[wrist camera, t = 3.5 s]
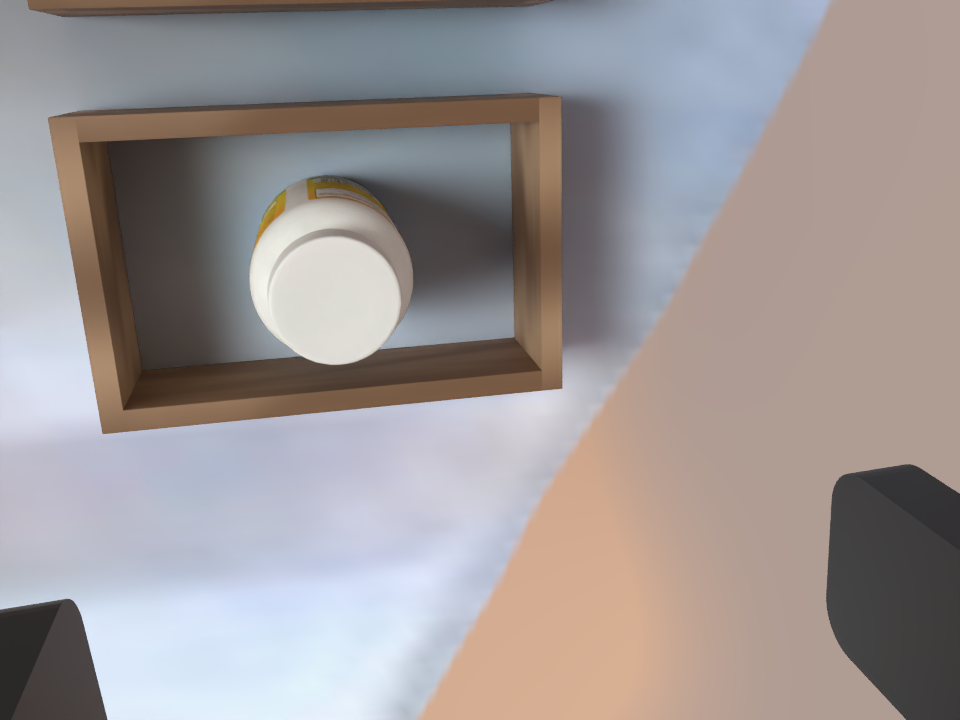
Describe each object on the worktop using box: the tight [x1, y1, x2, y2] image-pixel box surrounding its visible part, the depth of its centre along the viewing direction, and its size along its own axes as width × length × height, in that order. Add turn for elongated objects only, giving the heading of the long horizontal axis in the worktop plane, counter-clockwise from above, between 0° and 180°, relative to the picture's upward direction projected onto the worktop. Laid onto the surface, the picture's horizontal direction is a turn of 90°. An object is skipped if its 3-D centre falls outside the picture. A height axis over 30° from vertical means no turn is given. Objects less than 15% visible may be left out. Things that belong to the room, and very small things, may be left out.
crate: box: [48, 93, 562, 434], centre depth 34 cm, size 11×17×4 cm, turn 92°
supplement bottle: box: [249, 176, 413, 365], centre depth 32 cm, size 5×5×10 cm
